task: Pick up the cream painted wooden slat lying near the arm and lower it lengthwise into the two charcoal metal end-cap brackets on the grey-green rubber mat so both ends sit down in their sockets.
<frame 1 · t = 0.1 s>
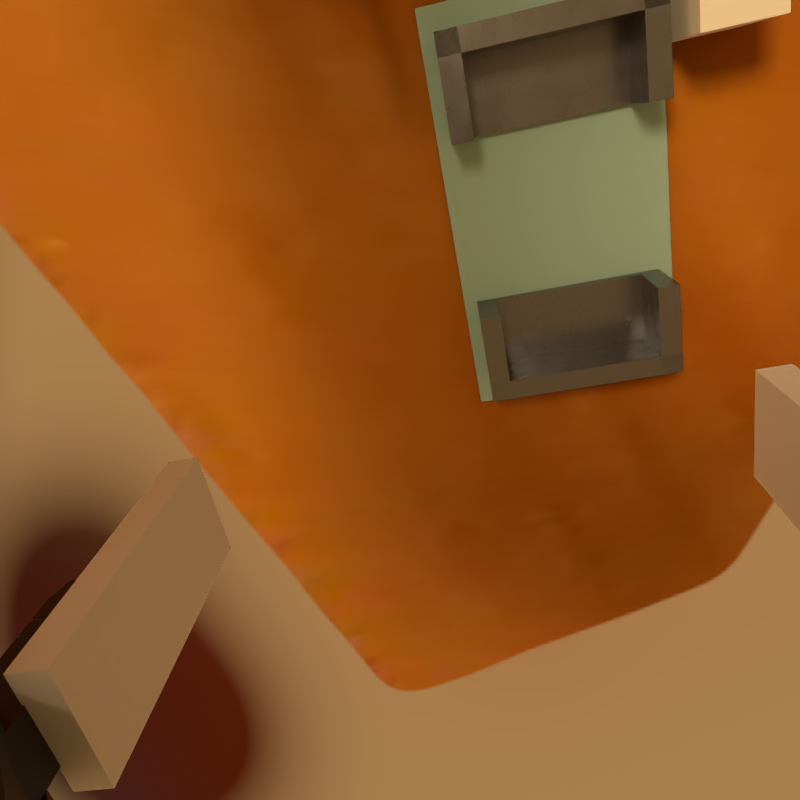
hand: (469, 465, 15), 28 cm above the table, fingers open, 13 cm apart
cap A: (543, 69, 36), resting on mat
mat: (556, 206, 39), on the table
cap B: (570, 325, 42), resting on mat
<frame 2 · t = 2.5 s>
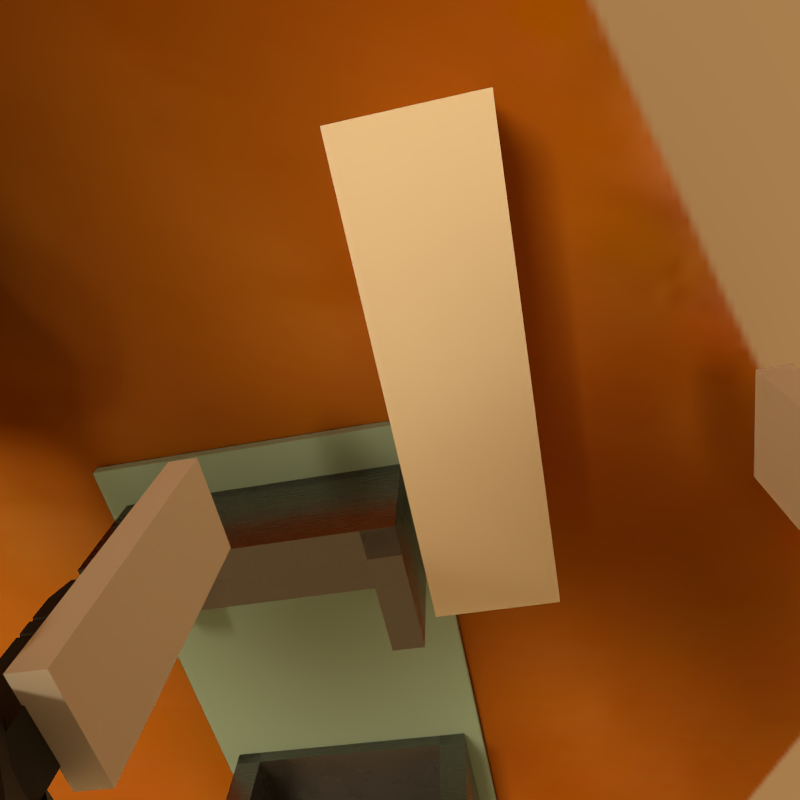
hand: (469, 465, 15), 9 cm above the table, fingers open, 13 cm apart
cap A: (278, 539, 27), resting on mat
slat: (453, 330, 23), on the table
mat: (325, 665, 30), on the table
cap B: (361, 779, 33), resting on mat
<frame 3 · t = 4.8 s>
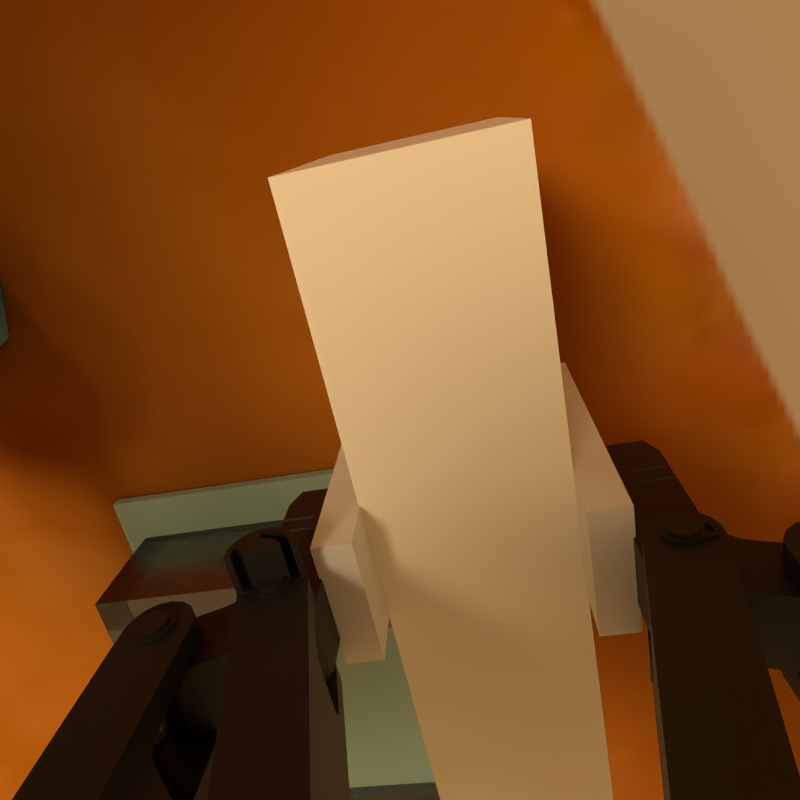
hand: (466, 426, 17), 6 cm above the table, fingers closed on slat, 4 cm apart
cap A: (296, 575, 26), resting on mat
slat: (466, 421, 18), point 5 cm above the table, touching gripper
mat: (340, 704, 30), on the table
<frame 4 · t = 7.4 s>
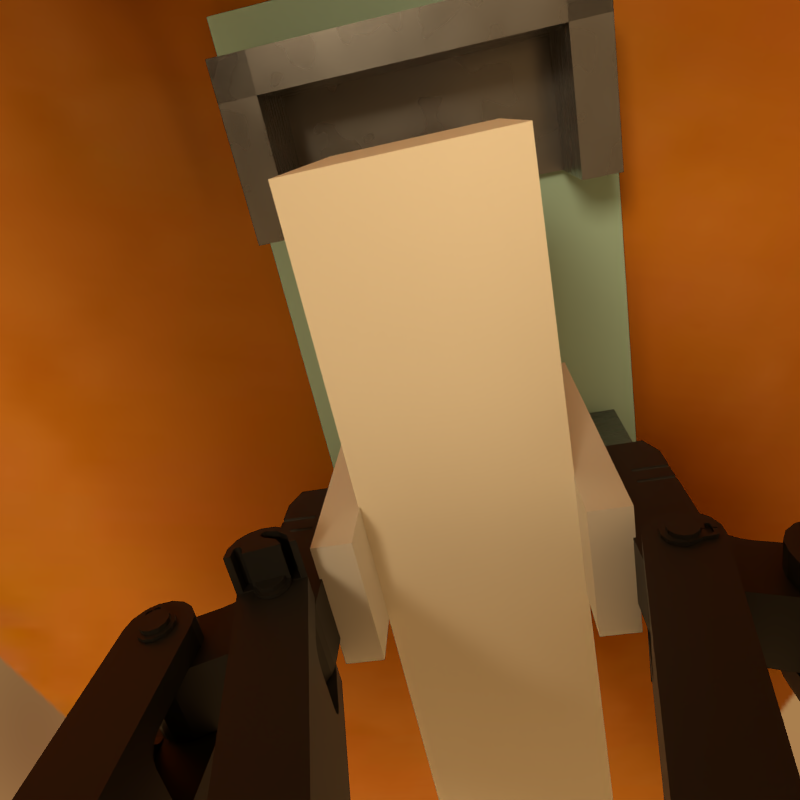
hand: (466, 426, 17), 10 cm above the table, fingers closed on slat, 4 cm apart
cap A: (421, 115, 22), resting on mat
slat: (466, 423, 18), point 9 cm above the table, touching gripper
mat: (457, 318, 26), on the table
cap B: (486, 484, 28), resting on mat
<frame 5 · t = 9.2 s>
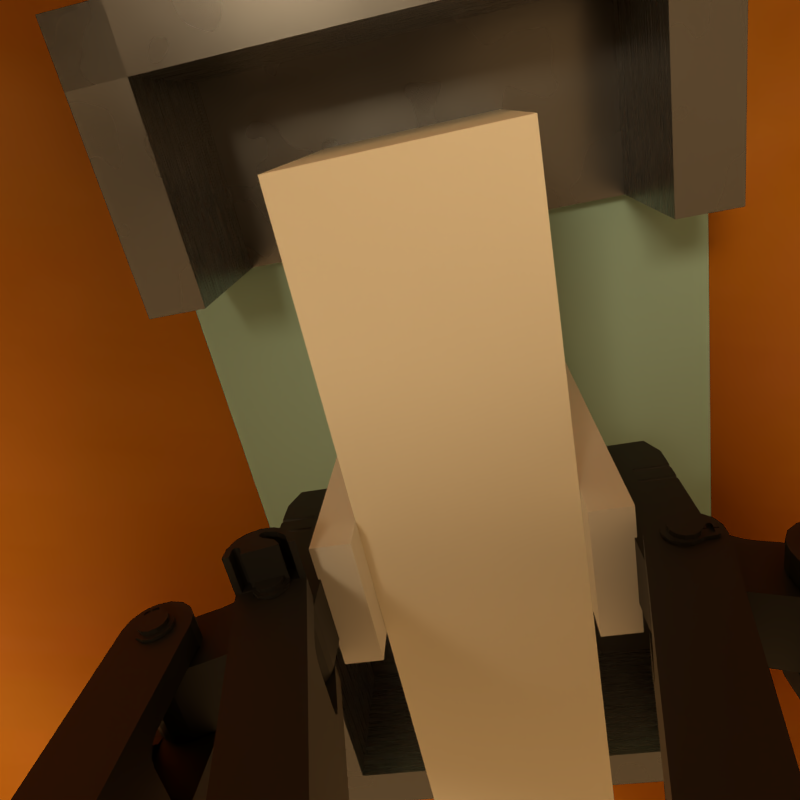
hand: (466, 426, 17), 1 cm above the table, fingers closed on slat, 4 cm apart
cap A: (410, 110, 15), resting on mat
slat: (466, 423, 17), point 1 cm above the table, touching cap A, cap B, gripper
mat: (463, 400, 18), on the table
cap B: (501, 616, 21), resting on mat
when the fingers open (1 cm above the table, at t = 9.9 s): slat stays where it is, resting on cap A, cap B.
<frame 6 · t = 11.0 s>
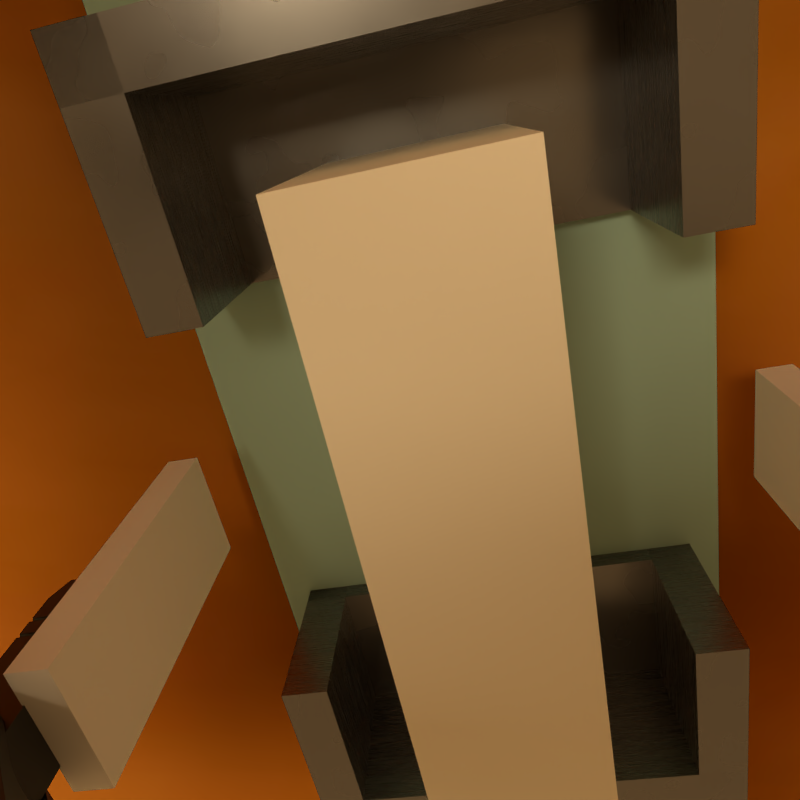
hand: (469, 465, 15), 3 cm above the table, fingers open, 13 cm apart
cap A: (412, 125, 15), resting on mat
slat: (468, 441, 17), point 1 cm above the table, touching cap A, cap B
mat: (465, 417, 18), on the table
cap B: (504, 635, 20), resting on mat
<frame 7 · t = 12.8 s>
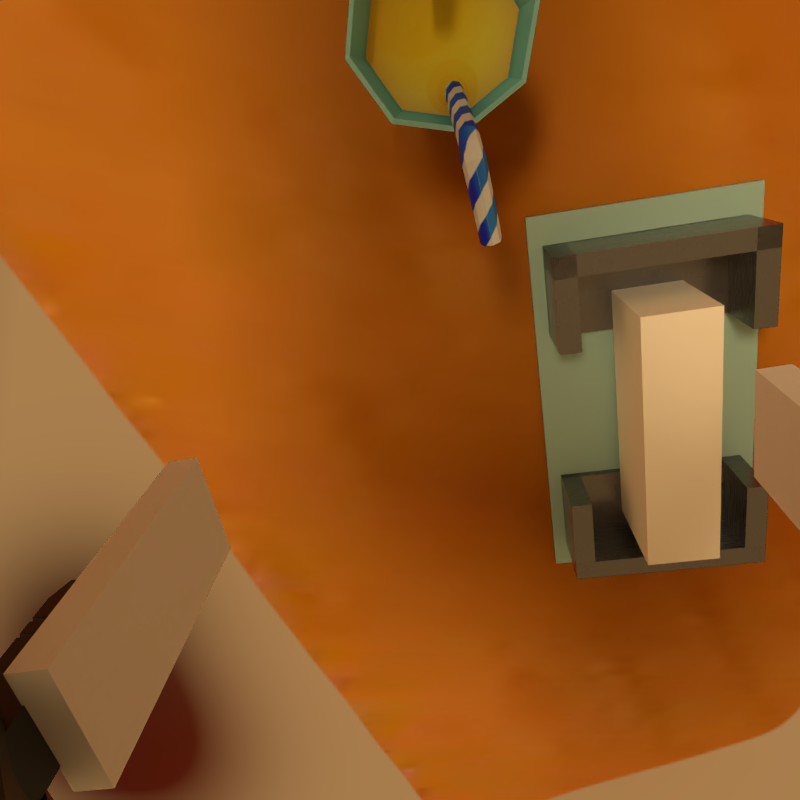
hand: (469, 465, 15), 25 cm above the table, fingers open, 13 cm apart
cap A: (644, 277, 38), resting on mat
slat: (649, 403, 40), point 1 cm above the table, touching cap A, cap B
mat: (645, 394, 41), on the table
cup: (445, 76, 35), on the table
cap B: (649, 500, 43), resting on mat
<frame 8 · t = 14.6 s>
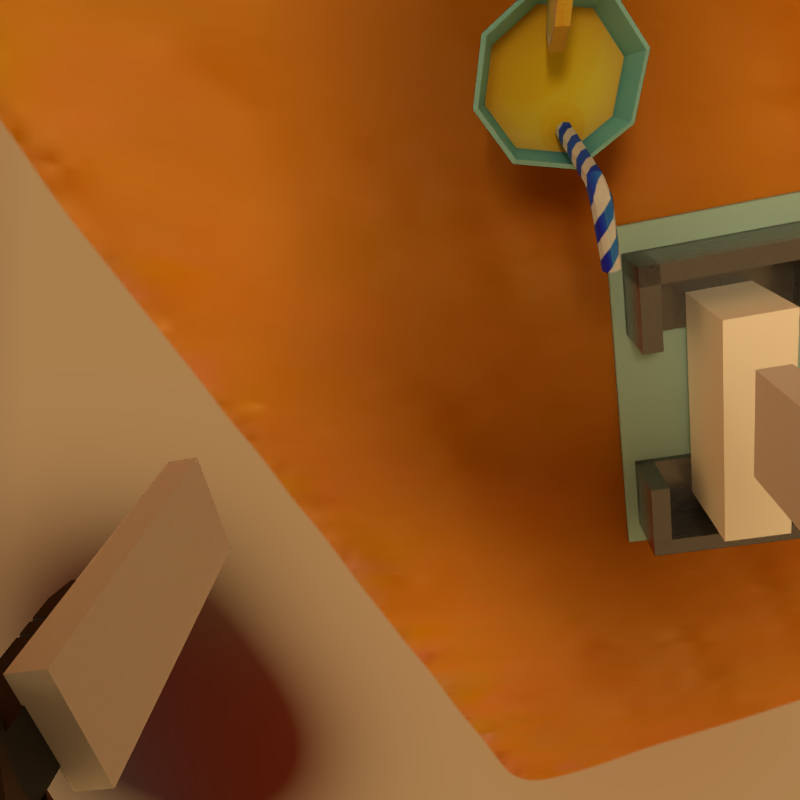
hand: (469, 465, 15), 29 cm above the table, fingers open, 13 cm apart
cap A: (715, 278, 41), resting on mat
slat: (719, 393, 44), point 1 cm above the table, touching cap A, cap B
mat: (714, 384, 44), on the table
cup: (532, 103, 38), on the table
cap B: (717, 481, 47), resting on mat
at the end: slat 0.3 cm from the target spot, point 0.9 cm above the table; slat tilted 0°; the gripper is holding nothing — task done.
